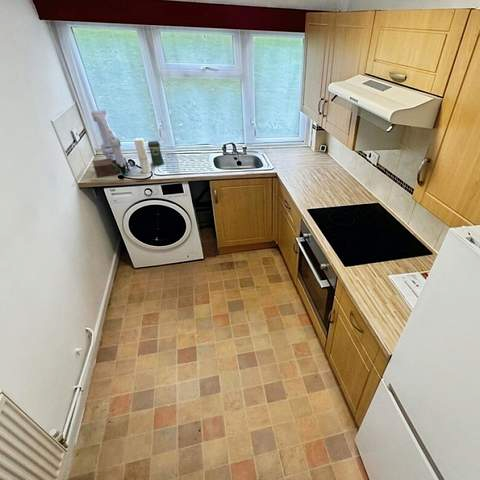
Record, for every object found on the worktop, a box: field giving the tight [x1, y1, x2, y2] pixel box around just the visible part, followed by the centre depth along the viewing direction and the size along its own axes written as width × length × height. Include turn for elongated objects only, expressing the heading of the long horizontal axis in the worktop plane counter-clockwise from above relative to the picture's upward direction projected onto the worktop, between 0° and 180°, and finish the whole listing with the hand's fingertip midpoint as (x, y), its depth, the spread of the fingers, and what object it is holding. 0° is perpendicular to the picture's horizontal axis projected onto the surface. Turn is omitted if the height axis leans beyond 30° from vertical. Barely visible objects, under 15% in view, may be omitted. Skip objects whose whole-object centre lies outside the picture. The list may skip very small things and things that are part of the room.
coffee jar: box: [147, 140, 165, 166], centre depth 254 cm, size 10×8×19 cm
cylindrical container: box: [133, 137, 152, 174], centre depth 237 cm, size 7×7×25 cm
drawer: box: [112, 157, 134, 174], centre depth 242 cm, size 17×13×7 cm
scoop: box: [112, 164, 128, 176], centre depth 233 cm, size 9×5×10 cm, turn 119°
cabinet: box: [92, 158, 117, 178], centre depth 237 cm, size 14×15×9 cm
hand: (123, 172), depth 236 cm, fingers closed on scoop, 4 cm apart
